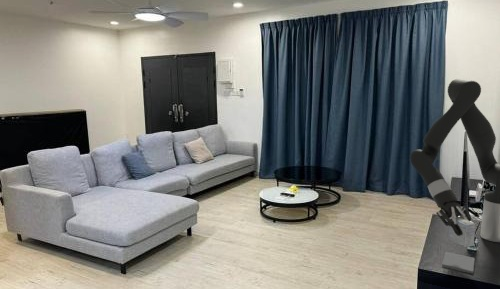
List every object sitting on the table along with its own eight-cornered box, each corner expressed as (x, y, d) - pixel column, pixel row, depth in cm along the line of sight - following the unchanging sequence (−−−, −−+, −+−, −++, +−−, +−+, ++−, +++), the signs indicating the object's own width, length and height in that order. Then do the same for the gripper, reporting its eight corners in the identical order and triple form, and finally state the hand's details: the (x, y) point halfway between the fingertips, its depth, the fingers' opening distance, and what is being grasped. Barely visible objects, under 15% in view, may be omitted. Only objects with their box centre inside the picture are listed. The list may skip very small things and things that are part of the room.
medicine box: (473, 246, 134) (476, 224, 132) (464, 247, 132) (466, 225, 131) (456, 237, 141) (458, 216, 139) (447, 238, 140) (449, 217, 138)
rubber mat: (445, 253, 146) (445, 251, 146) (474, 260, 140) (474, 257, 140) (442, 266, 136) (442, 264, 136) (473, 274, 130) (473, 271, 130)
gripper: (434, 190, 138) (458, 232, 129) (461, 187, 143) (487, 227, 134) (422, 199, 144) (444, 240, 135) (449, 195, 149) (472, 235, 140)
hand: (465, 233), depth 134 cm, fingers closed on medicine box, 4 cm apart
